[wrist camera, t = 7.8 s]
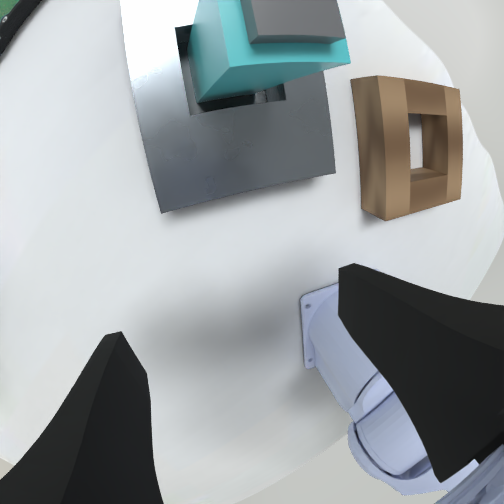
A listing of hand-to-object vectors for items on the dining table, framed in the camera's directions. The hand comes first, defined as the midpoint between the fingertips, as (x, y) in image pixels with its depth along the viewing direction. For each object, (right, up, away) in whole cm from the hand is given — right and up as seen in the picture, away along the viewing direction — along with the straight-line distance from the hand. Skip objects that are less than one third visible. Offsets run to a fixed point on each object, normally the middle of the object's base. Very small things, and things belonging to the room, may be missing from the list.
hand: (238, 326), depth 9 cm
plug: (-1, +13, +5) cm, 14 cm away
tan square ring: (+13, +11, +11) cm, 20 cm away
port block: (-1, +13, +5) cm, 14 cm away
